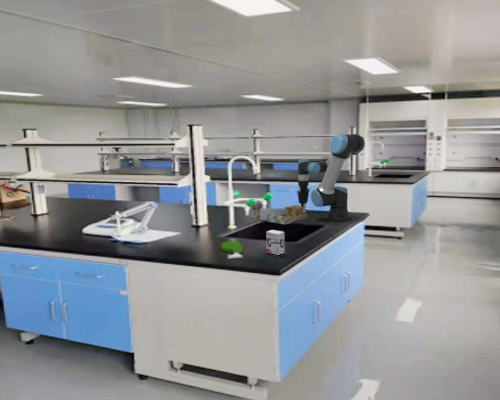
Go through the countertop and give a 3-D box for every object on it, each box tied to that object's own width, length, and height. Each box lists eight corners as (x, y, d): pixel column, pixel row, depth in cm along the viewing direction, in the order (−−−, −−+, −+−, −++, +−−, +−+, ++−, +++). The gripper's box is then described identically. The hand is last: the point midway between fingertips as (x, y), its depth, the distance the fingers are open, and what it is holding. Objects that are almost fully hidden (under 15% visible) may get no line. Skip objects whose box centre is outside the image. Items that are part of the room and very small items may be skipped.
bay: (307, 218, 321) (307, 211, 320) (285, 224, 302) (285, 217, 301) (289, 215, 331) (289, 208, 330) (266, 221, 312) (266, 214, 311)
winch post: (261, 220, 316) (261, 200, 314) (257, 221, 313) (257, 201, 311) (255, 219, 321) (254, 199, 318) (250, 220, 317) (250, 200, 315)
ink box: (265, 253, 233) (265, 231, 232) (272, 251, 237) (271, 229, 235) (278, 256, 228) (278, 233, 226) (285, 254, 231) (284, 231, 229)
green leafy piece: (240, 246, 250) (246, 259, 226) (220, 247, 248) (225, 261, 224) (240, 241, 249) (246, 254, 225) (220, 242, 247) (225, 255, 223)
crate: (303, 218, 322) (303, 206, 321) (295, 220, 316) (295, 208, 314) (292, 216, 329) (292, 205, 327) (284, 218, 322) (284, 207, 320)
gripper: (304, 179, 333) (304, 210, 337) (293, 180, 324) (293, 213, 327) (312, 179, 328) (312, 211, 332) (302, 181, 319) (302, 214, 322)
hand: (303, 212), depth 330 cm, fingers closed
